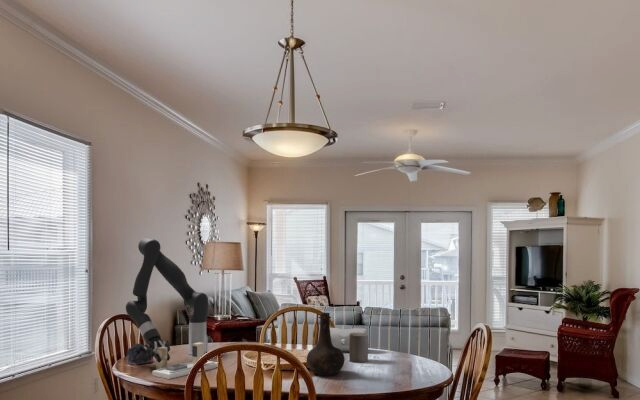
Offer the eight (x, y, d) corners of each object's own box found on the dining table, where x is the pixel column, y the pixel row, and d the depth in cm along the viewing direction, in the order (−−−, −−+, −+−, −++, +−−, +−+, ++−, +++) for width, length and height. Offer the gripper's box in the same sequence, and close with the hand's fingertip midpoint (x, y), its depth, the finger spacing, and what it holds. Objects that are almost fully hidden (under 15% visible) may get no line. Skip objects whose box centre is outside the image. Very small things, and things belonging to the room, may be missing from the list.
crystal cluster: (152, 365, 290) (154, 345, 291) (124, 365, 286) (126, 344, 288) (153, 362, 303) (155, 343, 304) (126, 361, 299) (128, 342, 301)
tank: (320, 354, 314) (320, 330, 315) (325, 348, 330) (324, 326, 330) (366, 355, 310) (366, 332, 310) (368, 349, 325) (368, 327, 326)
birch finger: (163, 367, 283) (163, 346, 284) (167, 368, 281) (167, 347, 282) (155, 368, 280) (156, 347, 280) (160, 369, 278) (160, 348, 278)
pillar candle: (346, 362, 293) (346, 332, 294) (352, 358, 302) (352, 329, 303) (364, 363, 289) (364, 333, 290) (370, 359, 298) (370, 330, 299)
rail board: (202, 363, 290) (203, 339, 291) (218, 367, 283) (219, 342, 284) (152, 375, 267) (152, 348, 267) (168, 379, 259) (169, 352, 260)
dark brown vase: (333, 380, 257) (333, 316, 258) (299, 375, 265) (299, 314, 267) (351, 371, 272) (350, 311, 274) (318, 367, 281) (318, 309, 283)
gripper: (140, 329, 280) (155, 358, 272) (164, 326, 292) (179, 353, 284) (134, 339, 283) (148, 368, 275) (158, 335, 295) (173, 362, 286)
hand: (164, 360), depth 279 cm, fingers closed on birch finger, 4 cm apart
